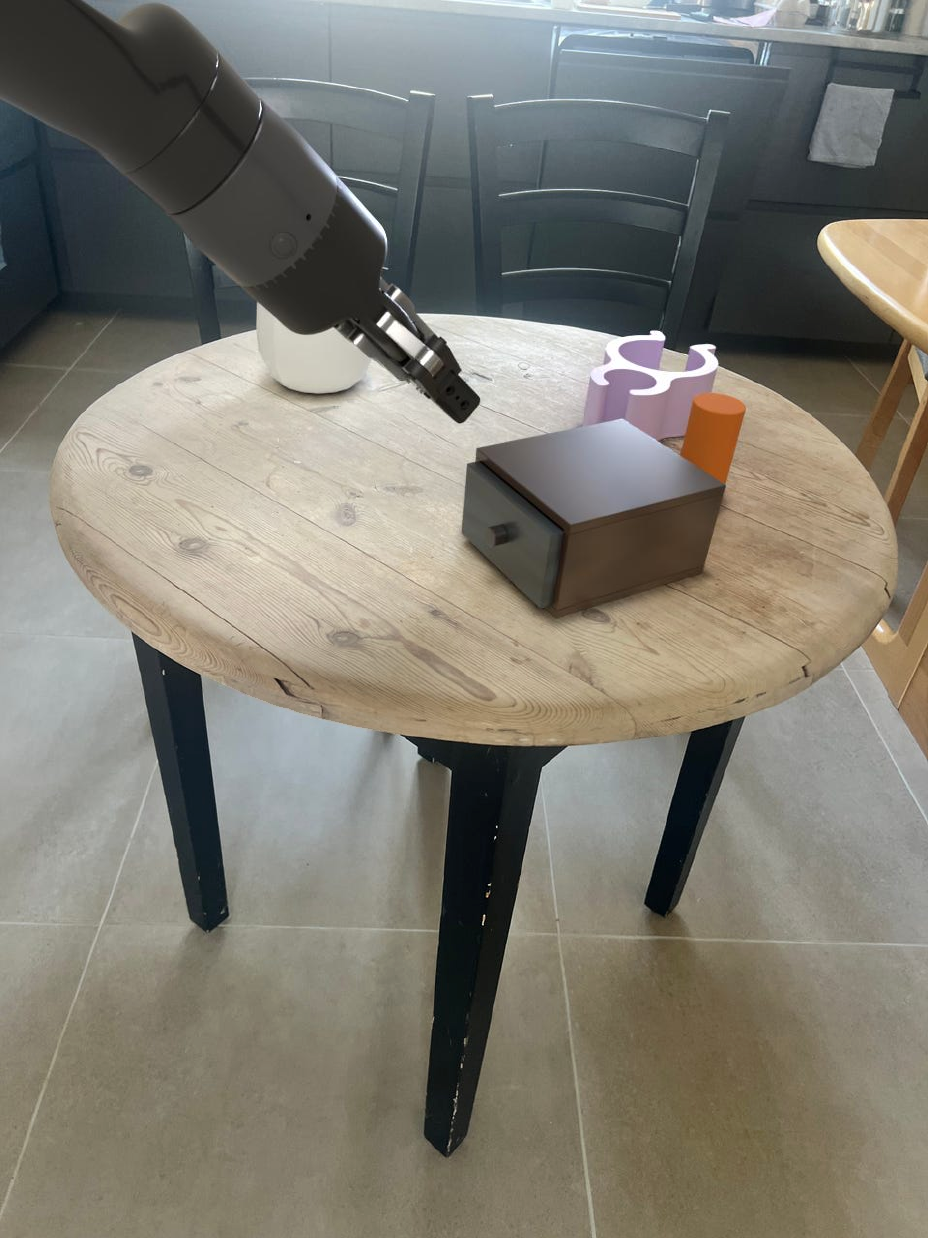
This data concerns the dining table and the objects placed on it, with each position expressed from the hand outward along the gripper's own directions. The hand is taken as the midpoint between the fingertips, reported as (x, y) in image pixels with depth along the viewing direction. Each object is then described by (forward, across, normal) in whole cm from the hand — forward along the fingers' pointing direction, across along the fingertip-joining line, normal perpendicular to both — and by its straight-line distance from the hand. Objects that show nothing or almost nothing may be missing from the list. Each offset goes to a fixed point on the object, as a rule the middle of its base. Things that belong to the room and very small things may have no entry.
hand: (465, 408), depth 59 cm
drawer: (+22, +4, +2) cm, 22 cm away
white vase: (+19, +48, +6) cm, 52 cm away
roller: (+36, +8, -10) cm, 38 cm away
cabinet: (+24, +4, +1) cm, 24 cm away
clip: (+40, +24, -15) cm, 49 cm away
